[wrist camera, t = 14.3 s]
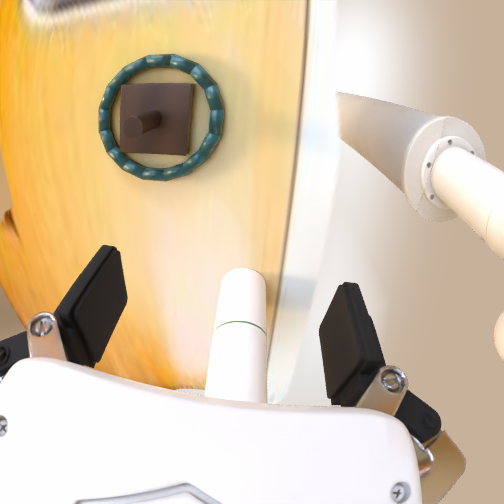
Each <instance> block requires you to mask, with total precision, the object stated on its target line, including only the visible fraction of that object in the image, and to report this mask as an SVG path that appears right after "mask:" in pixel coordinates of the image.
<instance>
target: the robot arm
mask: <svg viewBox="0 0 504 504" xmlns="http://www.w3.org/2000/svg"><path fill="white" fill-rule="evenodd" d="M420 181H421V187H422V190H423V193H424V195H425V197H426V198H427V199H428V200H429V202H431V203H432V204H433V205H434V206H436V207H437V208H440V209H447V210H448V209H452V210H453V211H454V212H455V213H456V214H457V215H458V216H459V217H461V219H463V220H464V221H465V222H466V223H467V224H468V225H469V226H470V227H471V228H472V229H473V230H474V231H475V232H476V233H477V234H478V235H479V236H480V237H481V239H482V240H484V242H485V243H486V244H487V245H488V246H489V247H490V248H491V249H492V250H493V251H494V253H496V254H497V255H498V256H499V257H500V258H502V259H504V172H503V171H501V170H499V169H498V168H496V167H495V166H493V165H491V164H490V163H488V162H486V161H484V160H483V159H481V158H479V157H477V155H476V152H475V150H474V149H473V147H472V146H471V145H470V143H469V142H467V141H466V140H464V139H462V138H460V137H457V136H446V137H442V138H441V139H439V140H437V141H436V142H435V143H434V144H433V145H432V146H431V147H430V148H429V150H428V151H427V153H426V155H425V157H424V159H423V162H422V166H421V172H420ZM127 298H128V297H127V291H126V286H125V280H124V274H123V268H122V262H121V255H120V252H119V251H117V248H116V247H114V246H108V245H103V246H102V247H101V248H100V249H99V250H98V252H97V253H96V254H95V256H94V257H93V258H92V260H91V261H90V262H89V264H88V265H87V266H86V268H85V269H84V270H83V272H82V273H81V274H80V275H79V277H78V278H77V279H76V281H75V282H74V284H73V285H72V287H71V288H70V289H69V291H68V292H67V294H66V295H65V297H64V298H63V300H62V301H61V303H60V304H59V306H58V307H57V309H56V310H55V312H54V314H52V313H50V312H40V313H37V314H35V315H34V316H33V317H32V318H31V319H30V320H29V322H28V324H27V331H25V332H22V333H20V334H17V335H15V336H12V337H10V338H7V339H5V340H2V341H0V504H437V503H438V502H439V501H440V500H441V499H442V498H443V497H444V496H445V495H446V493H447V492H448V491H449V490H450V489H451V488H452V486H453V485H454V484H455V483H456V481H457V480H458V479H459V478H460V476H461V475H462V474H463V472H464V470H465V468H466V459H465V457H464V455H463V454H462V452H461V451H460V450H459V448H458V447H457V446H456V444H455V443H454V442H453V440H452V439H451V438H450V436H449V435H448V434H447V432H446V431H445V430H444V431H442V430H441V419H440V416H439V415H438V413H437V412H436V411H435V410H434V409H432V408H431V407H430V406H429V405H427V404H426V403H425V402H423V401H422V400H421V399H419V398H418V397H417V396H415V395H414V394H413V393H411V392H410V391H409V390H407V388H408V379H407V377H406V375H405V373H404V372H403V371H402V370H400V368H398V367H396V366H392V365H387V366H386V364H385V360H384V357H383V353H382V350H381V347H380V344H379V340H378V337H377V334H376V330H375V327H374V324H373V321H372V318H371V317H370V316H369V315H368V311H367V309H366V306H365V303H364V300H363V297H362V294H361V291H360V288H359V285H358V284H357V283H350V282H344V283H343V285H339V286H338V289H337V291H336V293H335V295H334V297H333V300H332V302H331V304H330V306H329V308H328V310H327V313H326V315H325V317H324V319H323V321H322V323H321V325H320V328H319V336H320V344H321V351H322V358H323V366H324V373H325V382H326V390H327V397H328V398H329V399H331V403H332V405H341V407H327V406H297V405H279V404H266V403H255V402H246V401H237V400H229V399H222V398H215V397H208V396H202V395H196V394H191V393H185V392H180V391H175V390H170V389H166V388H161V387H157V386H152V385H148V384H144V383H140V382H136V381H132V380H129V379H125V378H121V377H118V376H114V375H111V374H107V373H104V372H101V371H97V370H94V369H91V368H88V367H85V366H84V365H86V366H89V367H92V368H94V366H95V364H96V362H97V363H98V362H99V361H100V360H101V357H102V355H103V353H104V351H105V348H106V346H107V344H108V342H109V339H110V337H111V335H112V333H113V331H114V329H115V326H116V324H117V322H118V320H119V318H120V316H121V314H122V312H123V310H124V308H125V306H126V303H127ZM494 342H495V346H496V349H497V351H498V353H499V355H500V356H501V358H502V359H503V361H504V310H503V311H502V313H501V315H500V316H499V318H498V320H497V323H496V325H495V329H494Z"/></svg>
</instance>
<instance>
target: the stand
mask: <svg viewBox="0 0 504 504" xmlns="http://www.w3.org/2000/svg"><path fill="white" fill-rule="evenodd" d="M193 91H194V84H189V83H147V84H126V85H121V105H120V152H122V153H151V154H169V155H183V156H186V155H187V154H188V151H189V136H190V123H191V112H192V101H193Z"/></svg>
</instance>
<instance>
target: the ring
mask: <svg viewBox="0 0 504 504" xmlns="http://www.w3.org/2000/svg"><path fill="white" fill-rule="evenodd" d="M168 66H171V67H173V68H176V69H178V70H181V71H183V72H185V73H188V74H190V75H191V76H192V77H193V78H194V79H195V81H196V82H197V83H198V84H199V85H200V86H201V87H202V88H203V89H204V91H205V94H206V98H207V101H208V104H209V107H210V110H211V112H210V121H209V132H208V134H207V135H206V137H205V139H204V141H203V143H202V145H201V147H200V149H199V150H198V151H197V152H196V153H195V154H193V155H192V156H191V157H190V158H189V159H187V160H186V161H185V162H184V163H182V164H179V165H176V166H173V167H170V168H167V169H158V168H146V167H144V166H142V165H139V164H137V163H135V162H133V161H131V160H129V159H128V158H127V156H126V155H125V154H124V153H122V152H120V149H119V148H118V147H117V145H116V142H115V140H114V137H113V134H112V132H111V129H110V109H111V106H112V103H113V101H114V98H115V96H116V93H117V91H118V90H119V89H120V87H121V85H123V84H124V83H125V82H126V81H127V80H128V79H129V78H130V77H131V76H132V75H134V74H136V73H138V72H140V71H143V70H145V69H147V68H149V67H168ZM223 118H224V105H223V102H222V99H221V96H220V92H219V89H218V86H217V84H216V82H215V81H214V80H213V79H212V78H211V77H210V76H209V74H208V73H207V72H206V71H205V70H204V69H203V68H202V67H201V66H200V65H199V64H198V63H195V62H193V61H191V60H188V59H186V58H183V57H181V56H178V55H176V54H162V55H148V56H145V57H143V58H141V59H139V60H137V61H135V62H133V63H131V64H129V65H127V66H125V67H124V68H123V69H122V70H121V71H120V72H119V73H118V74H117V75H116V76H115V77H114V79H113V80H112V81H111V82H110V83H109V84H108V86H107V88H106V90H105V93H104V95H103V98H102V101H101V103H100V106H99V134H100V136H101V139H102V142H103V144H104V147H105V149H106V152H107V154H108V155H109V156H110V157H111V158H112V159H113V160H114V161H115V162H116V163H117V164H118V166H119V167H120V168H121V169H122V170H124V171H126V172H128V173H130V174H132V175H134V176H136V177H138V178H141V179H143V180H155V181H169V180H172V179H175V178H178V177H181V176H185V175H188V174H190V173H191V172H192V171H194V170H195V169H196V168H197V167H198V166H200V165H201V164H202V163H203V162H205V161H206V160H207V159H208V158H209V157H210V155H211V153H212V152H213V150H214V148H215V146H216V144H217V143H218V141H219V139H220V137H221V135H222V127H223Z"/></svg>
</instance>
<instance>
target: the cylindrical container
mask: <svg viewBox="0 0 504 504" xmlns="http://www.w3.org/2000/svg"><path fill="white" fill-rule="evenodd" d="M205 396H208V397H215V398H222V399H229V400H237V401H246V402H255V403H266V404H267V323H266V283H265V280H264V278H263V277H262V276H261V274H259V273H258V272H256V271H254V270H251V269H246V268H239V269H235V270H232V271H230V272H228V273H227V274H226V275H225V276H224V278H223V280H222V284H221V290H220V296H219V303H218V309H217V315H216V321H215V328H214V334H213V341H212V348H211V354H210V361H209V368H208V375H207V382H206V389H205Z"/></svg>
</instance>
